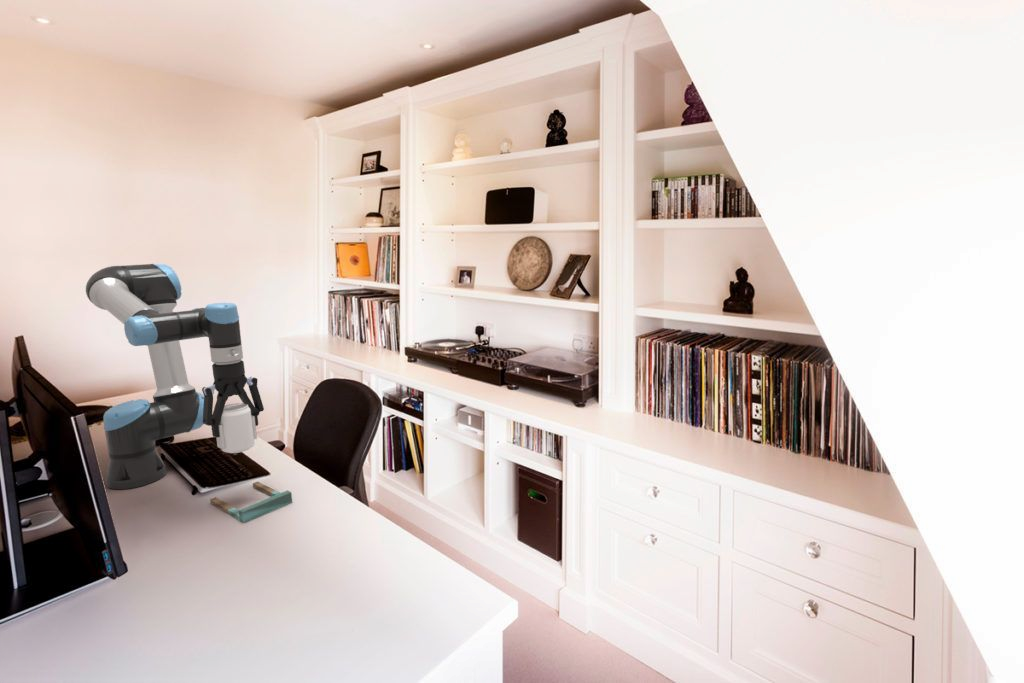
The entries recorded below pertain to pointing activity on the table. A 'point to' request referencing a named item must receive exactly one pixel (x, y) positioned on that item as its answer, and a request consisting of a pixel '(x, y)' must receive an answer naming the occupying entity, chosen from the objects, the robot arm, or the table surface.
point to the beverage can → (237, 428)
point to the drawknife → (256, 504)
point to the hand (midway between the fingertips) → (237, 442)
